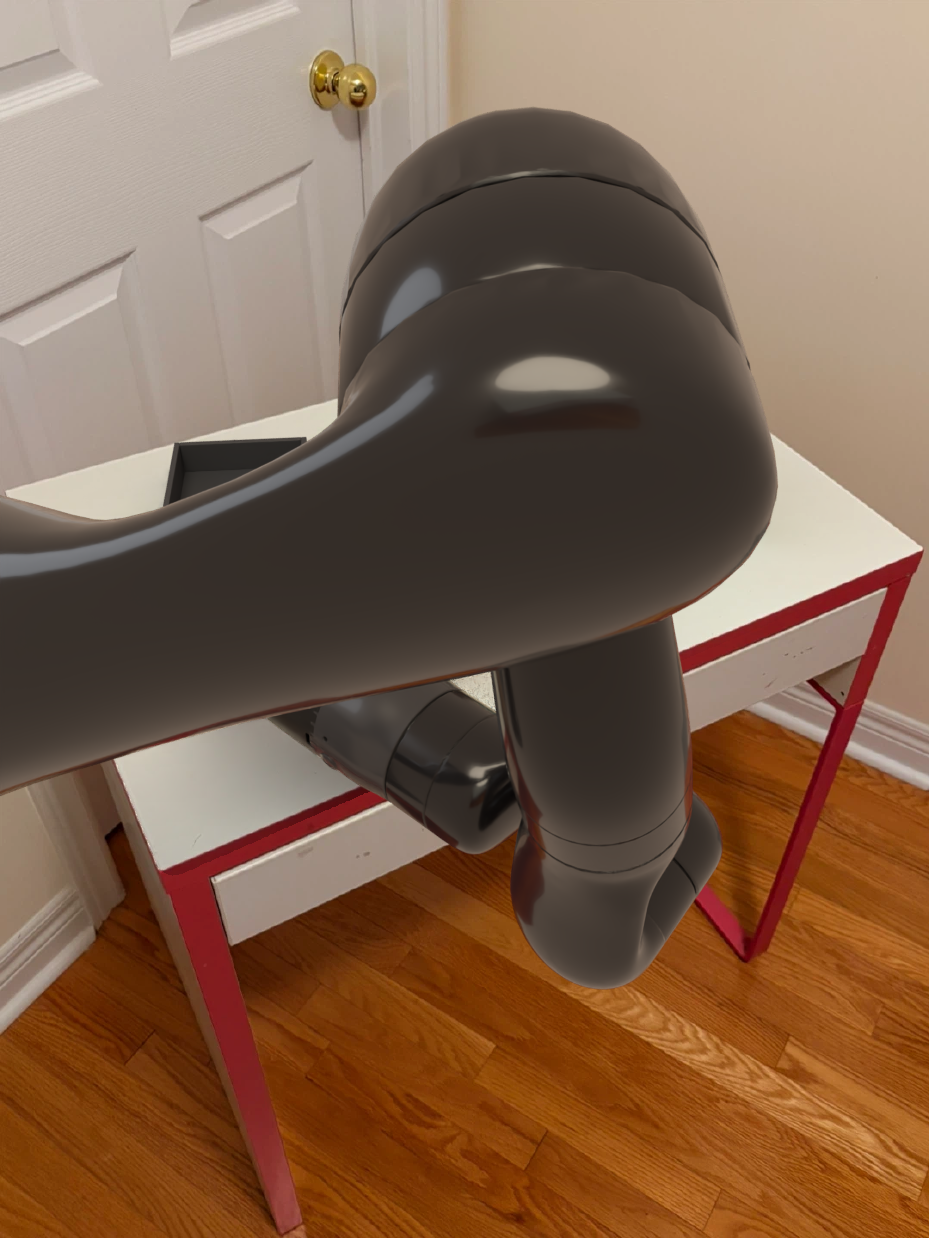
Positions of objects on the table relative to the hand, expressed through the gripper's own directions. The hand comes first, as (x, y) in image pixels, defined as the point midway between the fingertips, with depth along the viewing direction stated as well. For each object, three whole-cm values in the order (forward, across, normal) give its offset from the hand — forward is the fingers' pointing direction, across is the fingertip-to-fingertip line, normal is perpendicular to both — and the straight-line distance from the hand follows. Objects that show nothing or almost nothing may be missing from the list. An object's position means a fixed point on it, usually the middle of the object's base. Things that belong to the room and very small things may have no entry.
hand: (168, 572), depth 65 cm
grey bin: (+18, -19, +16) cm, 30 cm away
